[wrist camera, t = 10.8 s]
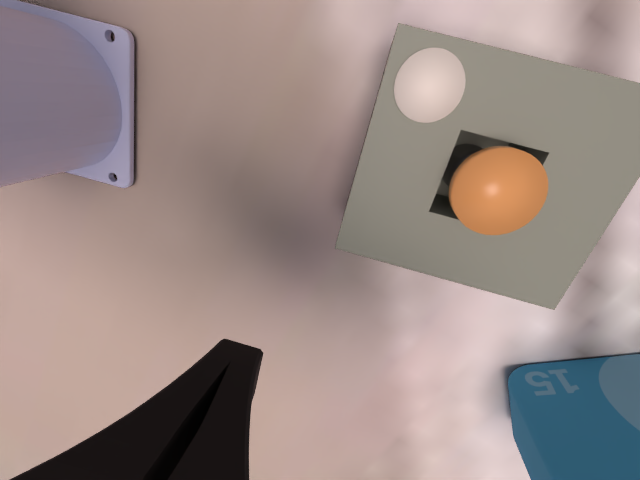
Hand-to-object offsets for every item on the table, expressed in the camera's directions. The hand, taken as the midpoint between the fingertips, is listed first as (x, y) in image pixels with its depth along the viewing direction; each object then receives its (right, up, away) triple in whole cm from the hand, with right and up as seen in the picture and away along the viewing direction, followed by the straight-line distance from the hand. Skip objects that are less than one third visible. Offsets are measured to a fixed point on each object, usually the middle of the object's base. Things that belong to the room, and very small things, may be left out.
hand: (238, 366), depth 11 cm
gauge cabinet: (+9, +8, +5) cm, 13 cm away
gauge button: (+9, +7, +4) cm, 12 cm away
